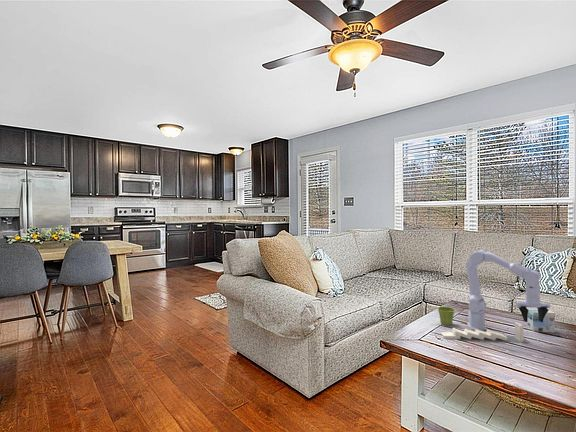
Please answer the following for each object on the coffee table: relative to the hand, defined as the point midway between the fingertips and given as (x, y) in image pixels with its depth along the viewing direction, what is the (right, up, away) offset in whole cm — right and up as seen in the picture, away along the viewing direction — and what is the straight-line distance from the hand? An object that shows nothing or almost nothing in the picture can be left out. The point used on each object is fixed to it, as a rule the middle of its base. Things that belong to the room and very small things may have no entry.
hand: (533, 321), depth 161 cm
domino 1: (-34, -10, +7) cm, 36 cm away
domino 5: (-12, -9, +3) cm, 16 cm away
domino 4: (-18, -9, +4) cm, 20 cm away
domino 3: (-23, -9, +5) cm, 25 cm away
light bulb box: (+15, -9, +14) cm, 22 cm away
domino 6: (-6, -10, +1) cm, 12 cm away
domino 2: (-29, -10, +6) cm, 31 cm away
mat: (-19, -10, +4) cm, 22 cm away
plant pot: (-30, -10, +27) cm, 42 cm away
